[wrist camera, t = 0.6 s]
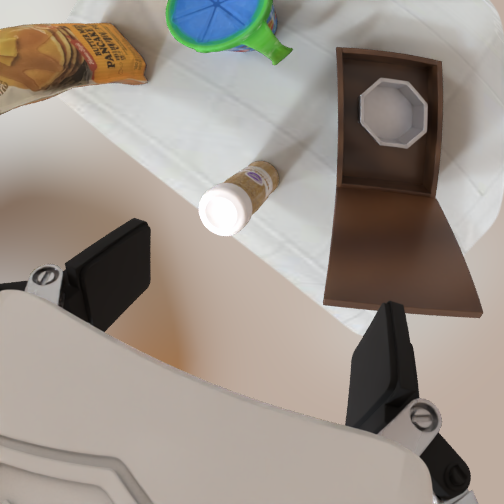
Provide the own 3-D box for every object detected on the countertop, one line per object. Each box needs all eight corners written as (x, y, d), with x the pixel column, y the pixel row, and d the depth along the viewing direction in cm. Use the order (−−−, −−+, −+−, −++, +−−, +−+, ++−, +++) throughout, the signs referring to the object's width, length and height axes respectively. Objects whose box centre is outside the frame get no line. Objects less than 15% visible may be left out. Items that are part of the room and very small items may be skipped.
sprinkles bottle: (284, 167, 35) (252, 199, 24) (272, 200, 38) (238, 245, 26) (249, 155, 36) (202, 180, 24) (240, 187, 38) (192, 226, 27)
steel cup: (357, 81, 27) (360, 75, 23) (414, 88, 25) (427, 84, 21) (357, 138, 30) (360, 143, 26) (413, 145, 28) (425, 151, 24)
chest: (336, 55, 27) (336, 46, 23) (430, 66, 24) (442, 61, 20) (337, 178, 34) (336, 188, 30) (425, 188, 31) (435, 199, 27)
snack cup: (182, 16, 29) (136, -1, 20) (242, -32, 23) (209, -65, 15) (252, 95, 32) (219, 91, 23) (322, 46, 27) (314, 21, 18)
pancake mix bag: (135, 110, 37) (-48, 158, 13) (81, 41, 33) (-68, 55, 9) (164, 77, 34) (-37, 95, 10) (104, 10, 30) (-52, 6, 6)
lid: (323, 298, 17) (322, 305, 18) (483, 312, 14) (480, 318, 15) (336, 186, 29) (336, 192, 30) (436, 198, 26) (435, 203, 27)
